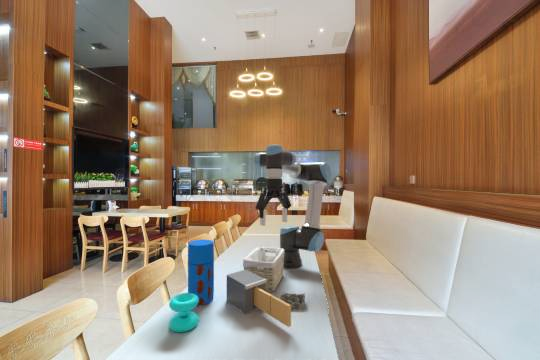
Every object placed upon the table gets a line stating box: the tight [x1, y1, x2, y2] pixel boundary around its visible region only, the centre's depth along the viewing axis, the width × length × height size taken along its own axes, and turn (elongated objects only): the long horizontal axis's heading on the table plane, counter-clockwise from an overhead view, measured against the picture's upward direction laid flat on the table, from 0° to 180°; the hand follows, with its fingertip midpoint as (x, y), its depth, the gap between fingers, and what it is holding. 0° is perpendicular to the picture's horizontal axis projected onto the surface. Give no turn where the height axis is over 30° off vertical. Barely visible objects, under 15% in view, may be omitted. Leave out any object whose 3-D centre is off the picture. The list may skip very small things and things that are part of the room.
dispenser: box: [226, 269, 267, 315], centre depth 106 cm, size 15×10×11 cm, turn 40°
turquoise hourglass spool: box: [168, 292, 200, 333], centre depth 91 cm, size 10×10×10 cm
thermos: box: [187, 239, 215, 307], centre depth 110 cm, size 11×11×25 cm
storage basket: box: [242, 246, 285, 293], centre depth 129 cm, size 24×16×15 cm
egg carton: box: [279, 292, 306, 310], centre depth 106 cm, size 11×8×4 cm
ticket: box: [253, 286, 292, 328], centre depth 95 cm, size 22×1×7 cm, turn 40°
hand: (274, 223), depth 118 cm, fingers open, 13 cm apart
